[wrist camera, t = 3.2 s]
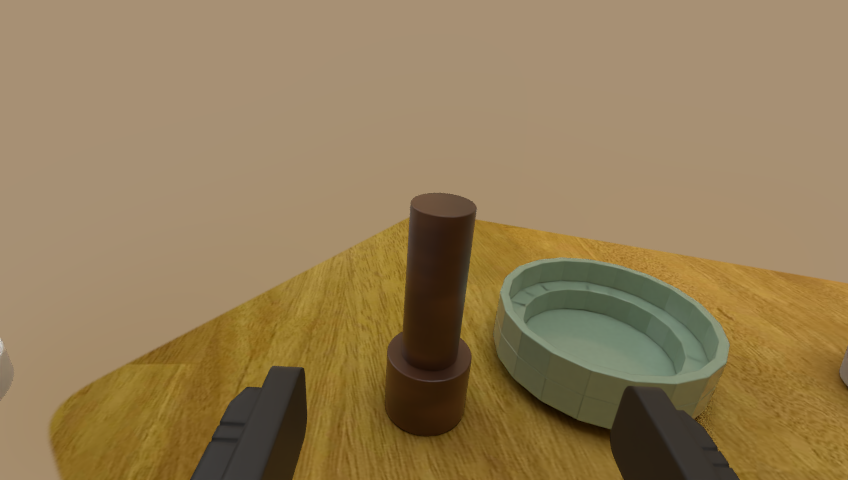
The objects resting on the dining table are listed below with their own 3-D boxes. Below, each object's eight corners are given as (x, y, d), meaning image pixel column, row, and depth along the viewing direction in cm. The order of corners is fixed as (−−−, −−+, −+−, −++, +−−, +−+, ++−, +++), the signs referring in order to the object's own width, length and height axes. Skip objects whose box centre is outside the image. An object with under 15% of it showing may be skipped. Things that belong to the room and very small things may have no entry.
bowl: (510, 436, 26) (523, 375, 24) (482, 299, 39) (489, 252, 37) (754, 449, 26) (786, 390, 24) (646, 309, 39) (661, 263, 37)
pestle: (381, 434, 25) (390, 220, 20) (387, 374, 30) (396, 184, 24) (467, 438, 26) (500, 227, 20) (461, 378, 30) (486, 190, 24)
